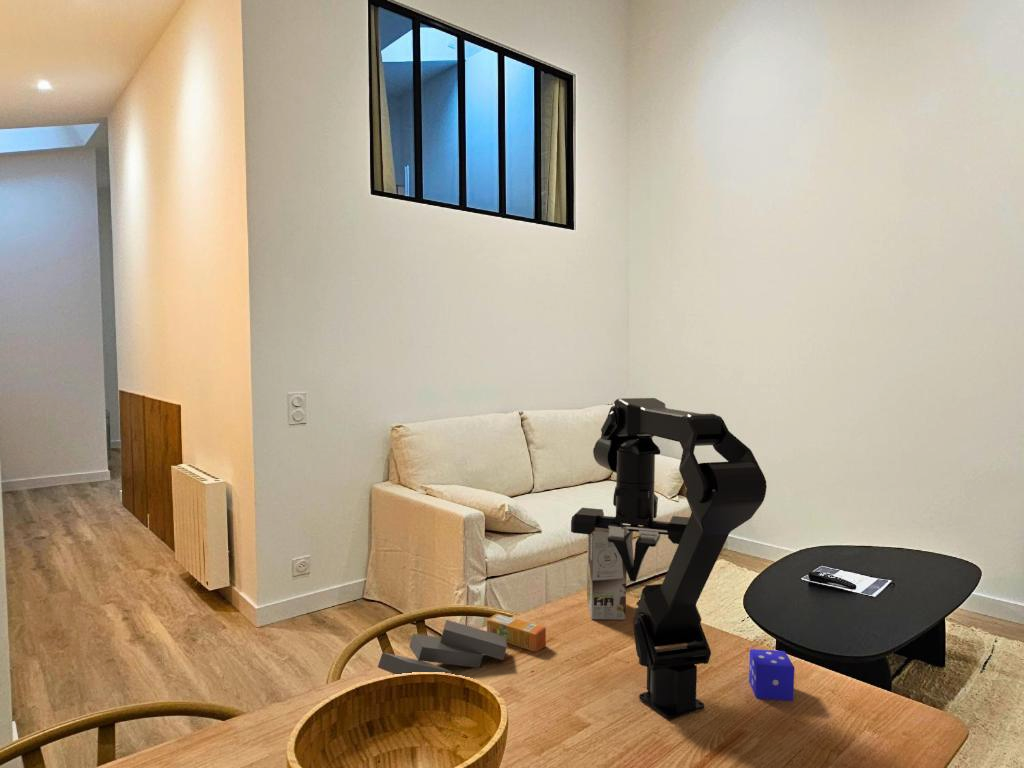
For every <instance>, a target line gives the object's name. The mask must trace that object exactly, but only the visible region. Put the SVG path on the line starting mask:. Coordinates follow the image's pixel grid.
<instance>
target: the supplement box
mask: <svg viewBox="0 0 1024 768" xmlns="http://www.w3.org/2000/svg"><path fill="white" fill-rule="evenodd" d="M486 631H487V632H491V633H494V634H498V635H501V636H505V637H506V641H507V644H510V645H512V646H516V647H519V648H521V649H525V650H527V651H530V652H534V653H537V652H538V651H540V650H542V649H543V648H544V647H546V646H547V641H546V637H547V636H546V635H547V632H546V631H547V627H545V626H543V625H539V624H536V623H532V622H528V621H524V620H522V619H518V618H514V617H511V616H508V615H504V614H501V613H495V614H494V615H491V616H490V617H489V618H488V619H487V620H486Z"/></svg>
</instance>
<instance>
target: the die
mask: <svg viewBox="0 0 1024 768" xmlns="http://www.w3.org/2000/svg"><path fill="white" fill-rule="evenodd" d="M748 667H749V668H748V669H749V670H748V673H749V674H748V683H749V685H750V687H751V690H752V692H753V693H754V696H755V699H759V700H760V699H761V700H771V701H772V700H774V701H789V702H793V701H794V691H795V690H794V689H795V687H794V686H795V666H794V664H793V662H792V660H791V659H790V658H789V656H788V654H787V653H786V651H785V650H772V649H755V648H754V649H753V648H751V649H749V665H748Z"/></svg>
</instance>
